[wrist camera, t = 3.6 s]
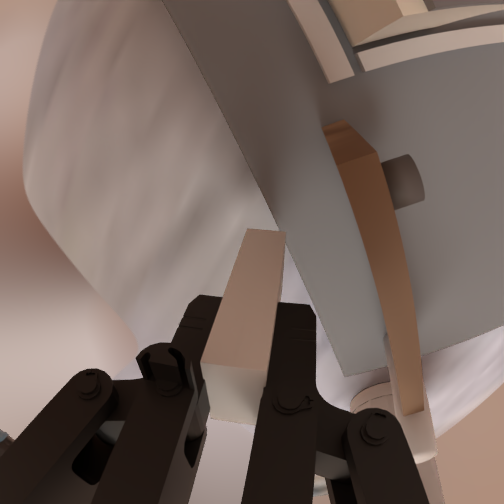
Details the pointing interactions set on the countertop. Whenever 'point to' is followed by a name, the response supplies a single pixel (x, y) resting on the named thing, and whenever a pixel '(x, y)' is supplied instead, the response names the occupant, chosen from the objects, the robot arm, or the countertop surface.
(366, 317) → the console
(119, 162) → the countertop surface
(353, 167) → the door
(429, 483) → the cup
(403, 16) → the fader knob
